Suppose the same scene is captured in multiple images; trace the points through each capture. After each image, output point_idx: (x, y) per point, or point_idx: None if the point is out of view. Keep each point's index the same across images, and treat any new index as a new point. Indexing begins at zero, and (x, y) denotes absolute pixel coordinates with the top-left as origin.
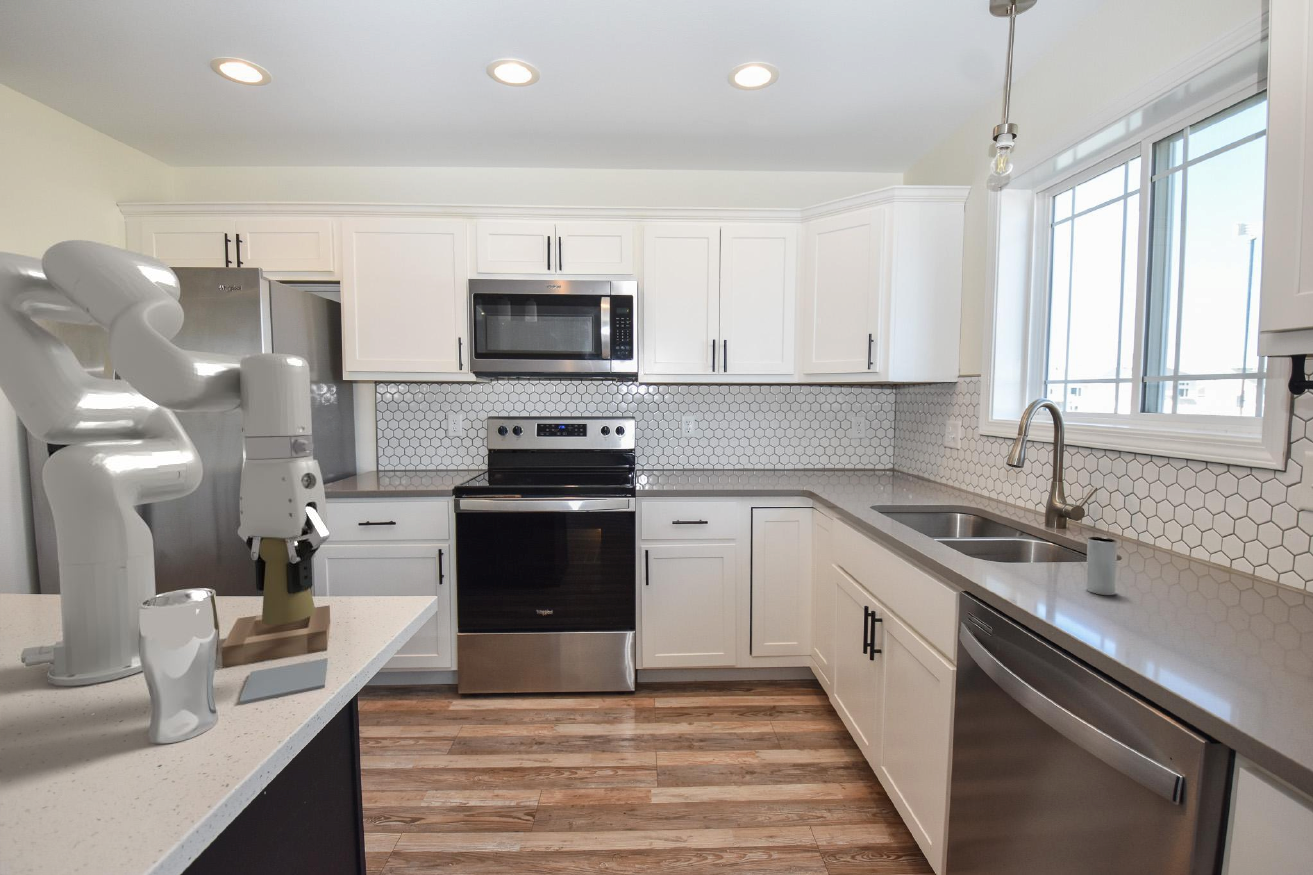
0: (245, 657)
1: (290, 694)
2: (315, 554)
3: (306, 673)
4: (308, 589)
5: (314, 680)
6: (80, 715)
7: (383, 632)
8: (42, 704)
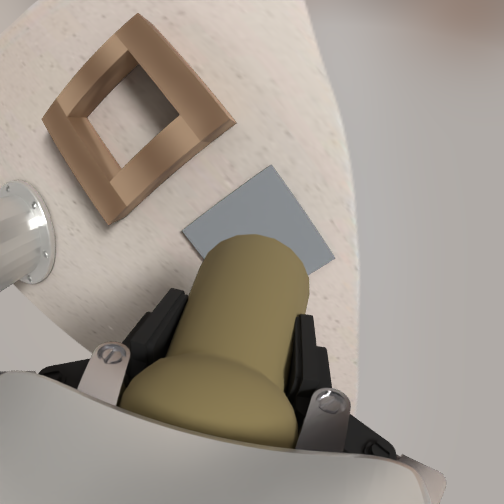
0: (139, 200)
1: None
2: (348, 399)
3: (278, 225)
4: (300, 311)
5: (309, 246)
6: (104, 330)
7: (288, 36)
8: (56, 310)
